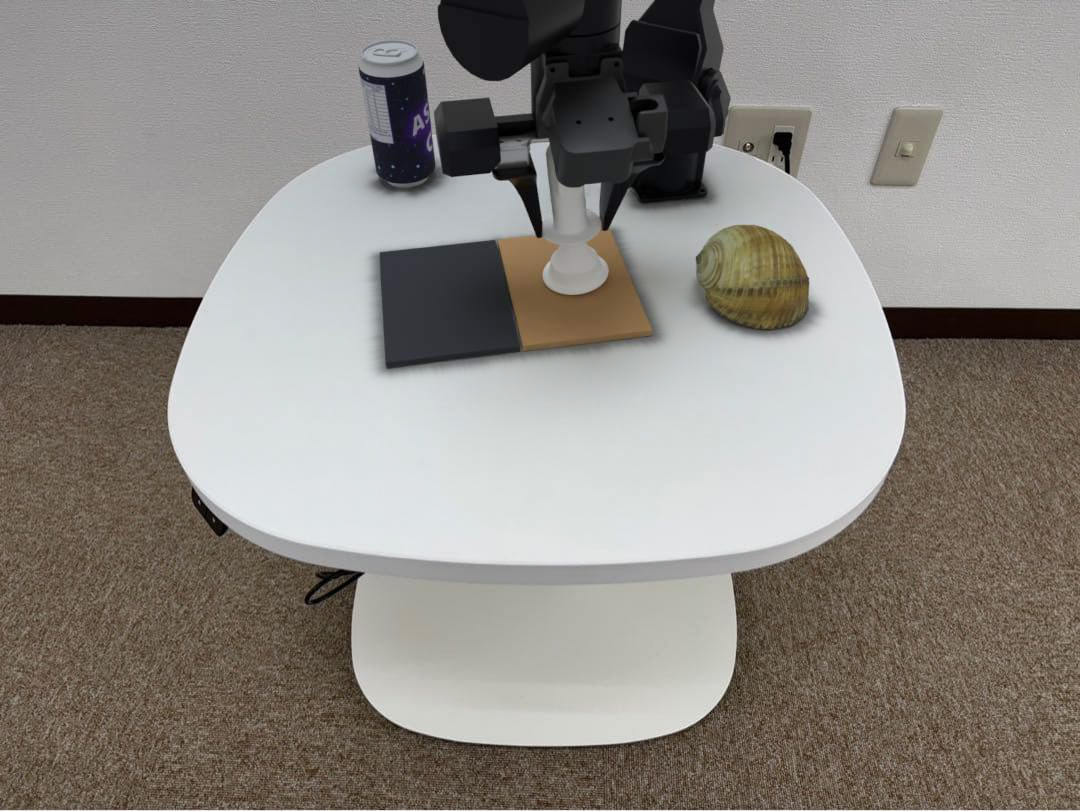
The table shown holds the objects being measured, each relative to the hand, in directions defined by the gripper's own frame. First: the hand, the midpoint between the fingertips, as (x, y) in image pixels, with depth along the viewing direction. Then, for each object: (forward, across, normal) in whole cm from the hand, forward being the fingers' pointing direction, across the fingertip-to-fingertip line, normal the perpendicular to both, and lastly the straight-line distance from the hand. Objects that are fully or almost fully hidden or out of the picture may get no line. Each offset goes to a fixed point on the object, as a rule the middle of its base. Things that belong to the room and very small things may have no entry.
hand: (571, 231), depth 61 cm
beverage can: (+6, -12, +20) cm, 24 cm away
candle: (+4, 0, 0) cm, 5 cm away
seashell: (+6, +14, -4) cm, 16 cm away
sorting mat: (+5, -5, 0) cm, 7 cm away
